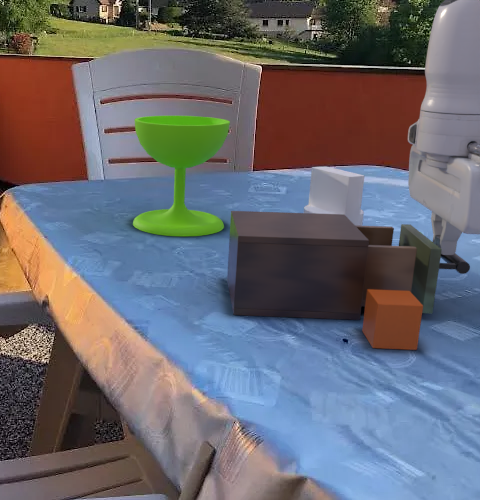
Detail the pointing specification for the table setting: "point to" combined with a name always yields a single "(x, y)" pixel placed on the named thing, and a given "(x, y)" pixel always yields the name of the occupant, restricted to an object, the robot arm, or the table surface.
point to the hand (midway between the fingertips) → (443, 251)
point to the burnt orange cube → (392, 319)
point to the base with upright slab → (336, 193)
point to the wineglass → (180, 168)
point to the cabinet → (296, 265)
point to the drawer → (406, 263)
